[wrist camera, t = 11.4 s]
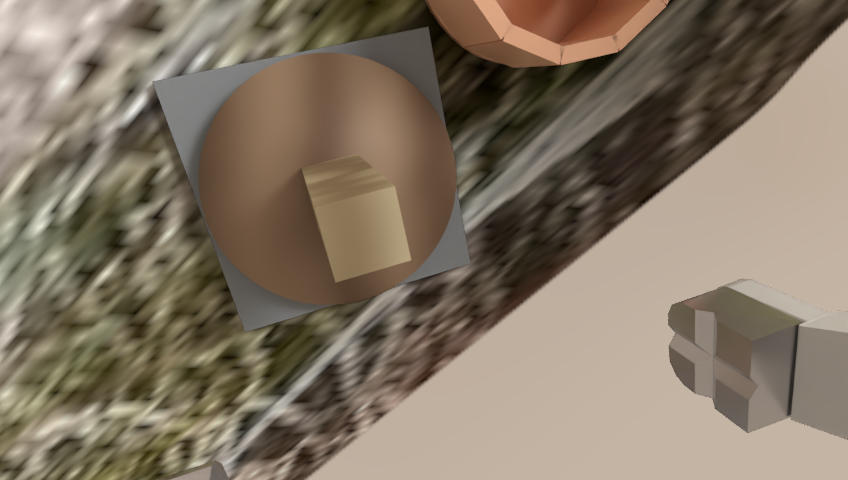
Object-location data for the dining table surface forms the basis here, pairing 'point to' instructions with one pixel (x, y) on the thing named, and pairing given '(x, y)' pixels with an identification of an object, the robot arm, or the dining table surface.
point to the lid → (327, 178)
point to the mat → (207, 92)
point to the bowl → (543, 28)
